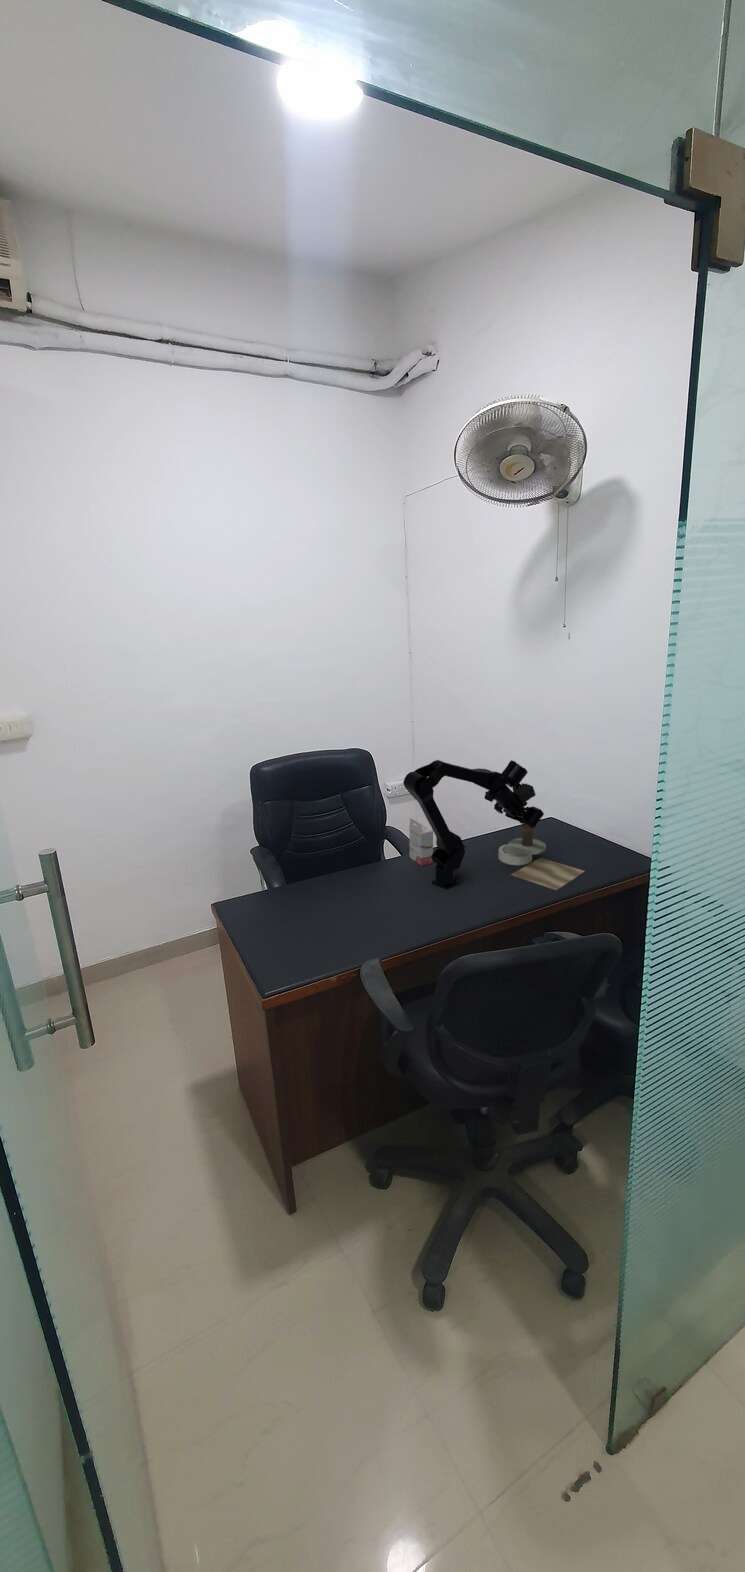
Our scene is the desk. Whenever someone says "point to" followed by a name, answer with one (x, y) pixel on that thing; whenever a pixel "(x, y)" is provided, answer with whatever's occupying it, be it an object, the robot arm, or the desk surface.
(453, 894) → the desk surface
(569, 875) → the mat
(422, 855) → the ink cartridge box
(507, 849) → the bowl
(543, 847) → the lid
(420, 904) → the desk surface
